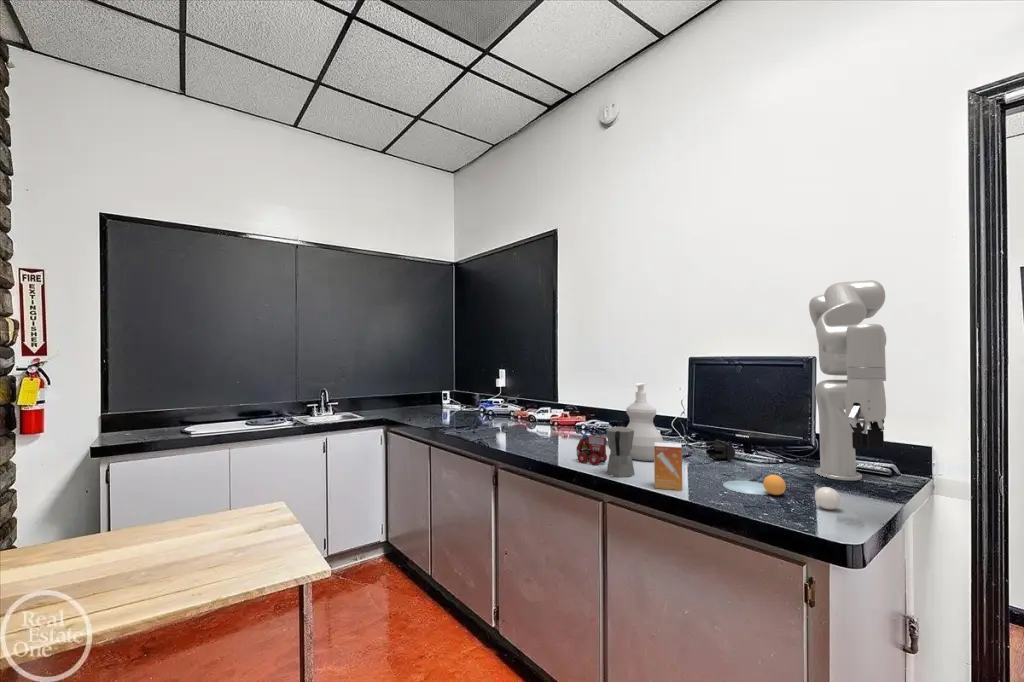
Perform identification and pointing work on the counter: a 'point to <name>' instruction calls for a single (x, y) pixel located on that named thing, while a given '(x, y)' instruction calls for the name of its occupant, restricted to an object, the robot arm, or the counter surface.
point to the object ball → (774, 485)
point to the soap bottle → (642, 427)
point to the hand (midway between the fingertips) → (868, 447)
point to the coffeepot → (620, 451)
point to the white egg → (827, 498)
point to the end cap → (720, 451)
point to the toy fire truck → (592, 449)
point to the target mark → (746, 487)
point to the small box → (668, 465)
